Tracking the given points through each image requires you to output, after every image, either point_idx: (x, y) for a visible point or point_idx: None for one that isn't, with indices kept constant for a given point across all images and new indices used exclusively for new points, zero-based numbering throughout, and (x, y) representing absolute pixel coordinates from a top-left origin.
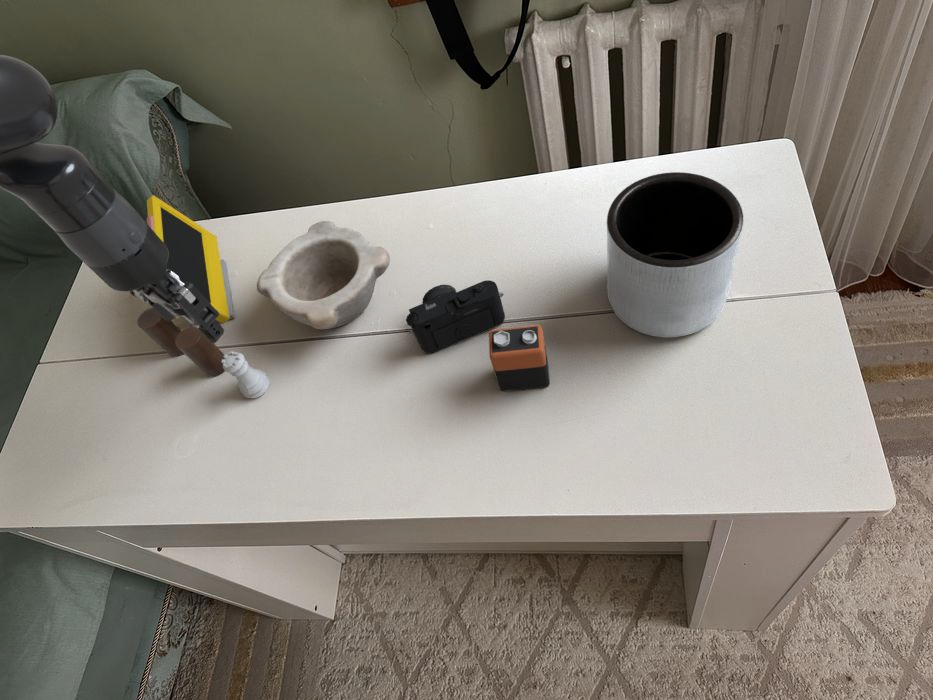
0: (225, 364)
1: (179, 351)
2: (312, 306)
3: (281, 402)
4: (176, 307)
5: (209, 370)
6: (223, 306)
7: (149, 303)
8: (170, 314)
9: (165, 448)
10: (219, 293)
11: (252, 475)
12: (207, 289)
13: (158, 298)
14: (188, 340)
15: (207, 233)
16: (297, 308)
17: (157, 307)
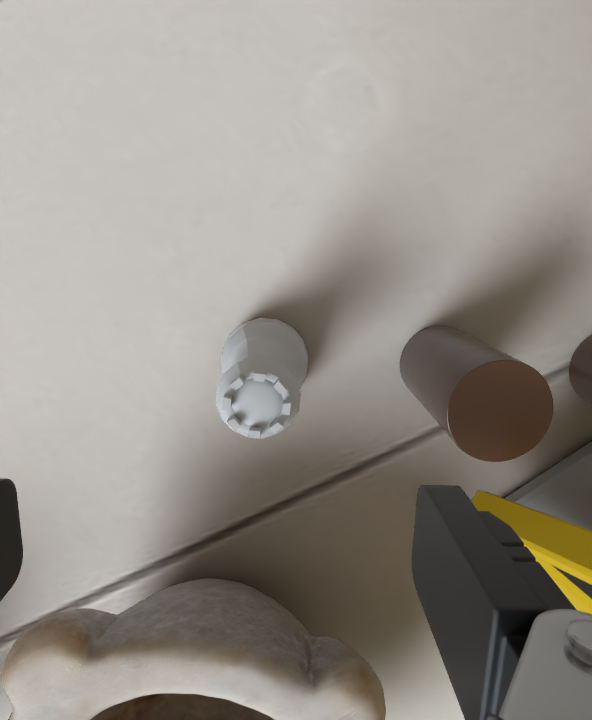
0: (257, 379)
1: (585, 353)
2: (82, 693)
3: (161, 348)
4: (421, 594)
5: (425, 339)
6: None
7: (531, 628)
8: (426, 536)
9: (407, 63)
10: None
11: (74, 122)
12: (583, 589)
13: None
14: (488, 402)
15: None
16: (129, 669)
17: (471, 590)
